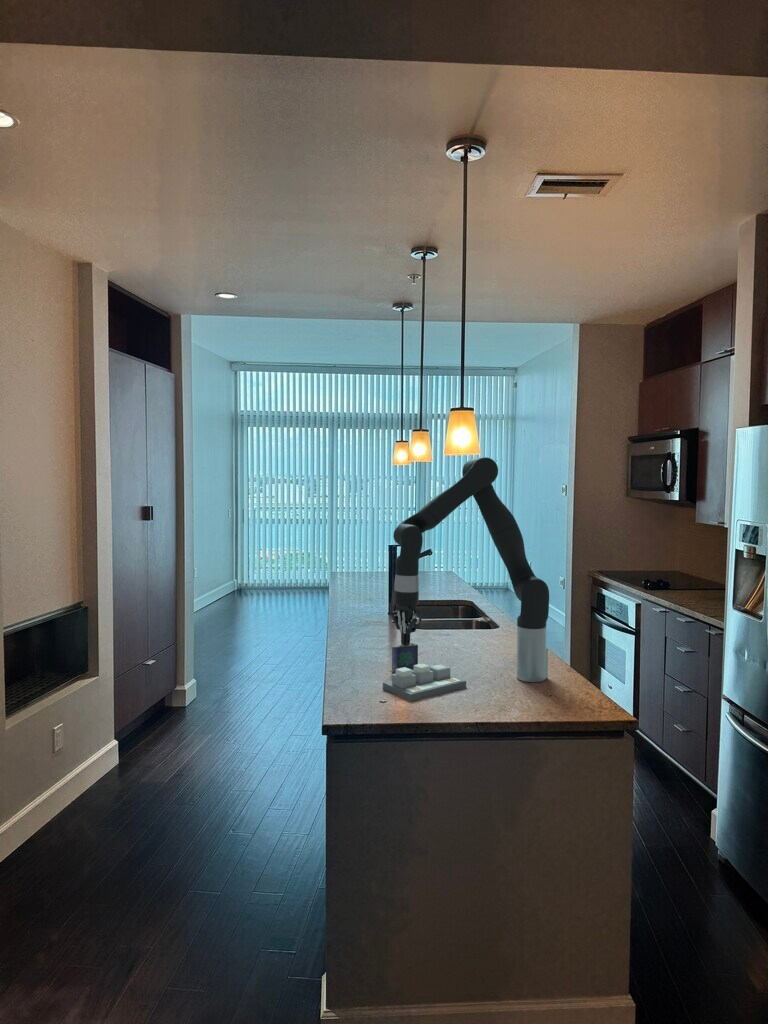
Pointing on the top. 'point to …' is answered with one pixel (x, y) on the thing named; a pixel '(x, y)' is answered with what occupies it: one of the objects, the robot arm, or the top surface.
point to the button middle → (421, 668)
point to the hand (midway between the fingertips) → (405, 644)
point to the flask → (404, 656)
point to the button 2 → (438, 667)
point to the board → (424, 684)
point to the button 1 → (403, 672)
